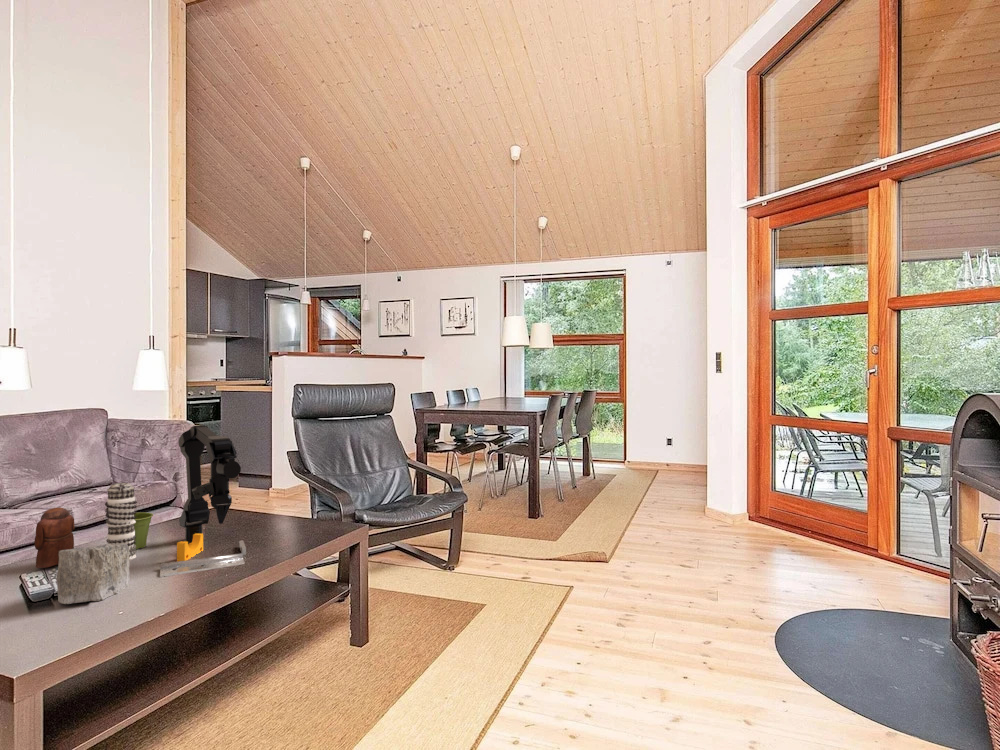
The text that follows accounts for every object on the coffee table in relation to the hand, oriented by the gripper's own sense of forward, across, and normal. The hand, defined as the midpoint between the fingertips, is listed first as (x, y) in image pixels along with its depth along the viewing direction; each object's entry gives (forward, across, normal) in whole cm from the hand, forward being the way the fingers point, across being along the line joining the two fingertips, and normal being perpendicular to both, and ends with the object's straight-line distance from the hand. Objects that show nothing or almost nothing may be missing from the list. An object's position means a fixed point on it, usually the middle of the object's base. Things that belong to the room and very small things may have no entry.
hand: (220, 520), depth 209 cm
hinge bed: (+12, +8, -6) cm, 16 cm away
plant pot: (+12, -25, -27) cm, 38 cm away
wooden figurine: (+12, -16, -49) cm, 53 cm away
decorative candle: (+12, -12, -30) cm, 34 cm away
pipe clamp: (+12, -3, -10) cm, 16 cm away
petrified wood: (+12, +22, -34) cm, 42 cm away
